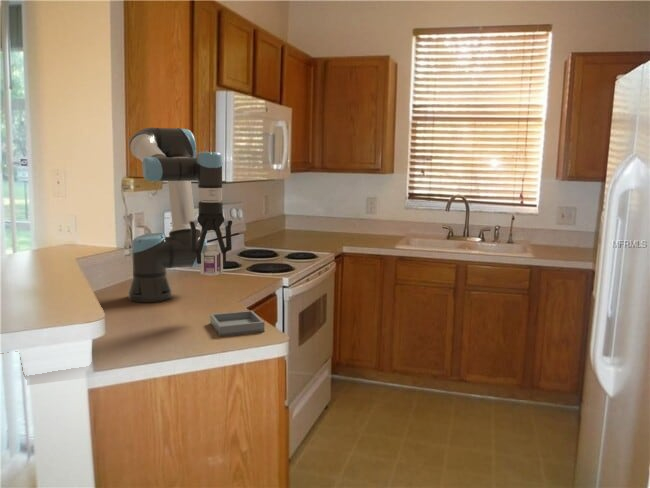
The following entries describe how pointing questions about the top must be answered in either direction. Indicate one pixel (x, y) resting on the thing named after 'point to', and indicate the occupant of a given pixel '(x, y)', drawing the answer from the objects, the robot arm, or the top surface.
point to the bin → (236, 323)
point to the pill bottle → (211, 260)
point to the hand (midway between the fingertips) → (211, 272)
